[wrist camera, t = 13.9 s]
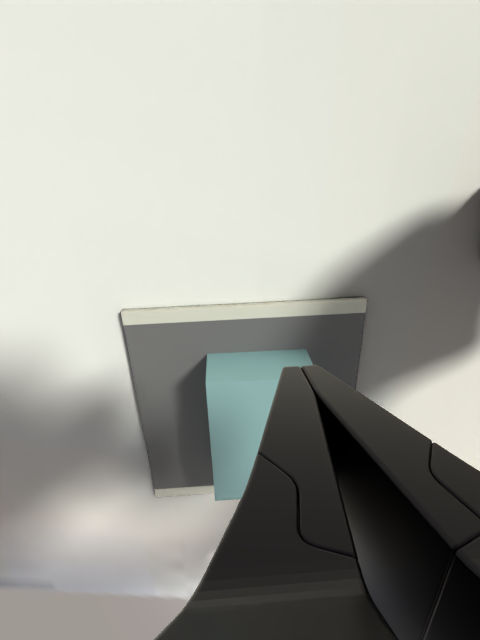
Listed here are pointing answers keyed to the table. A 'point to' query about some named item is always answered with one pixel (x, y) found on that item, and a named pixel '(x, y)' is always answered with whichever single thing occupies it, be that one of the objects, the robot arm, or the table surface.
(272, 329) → the mat
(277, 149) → the table surface
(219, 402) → the block
